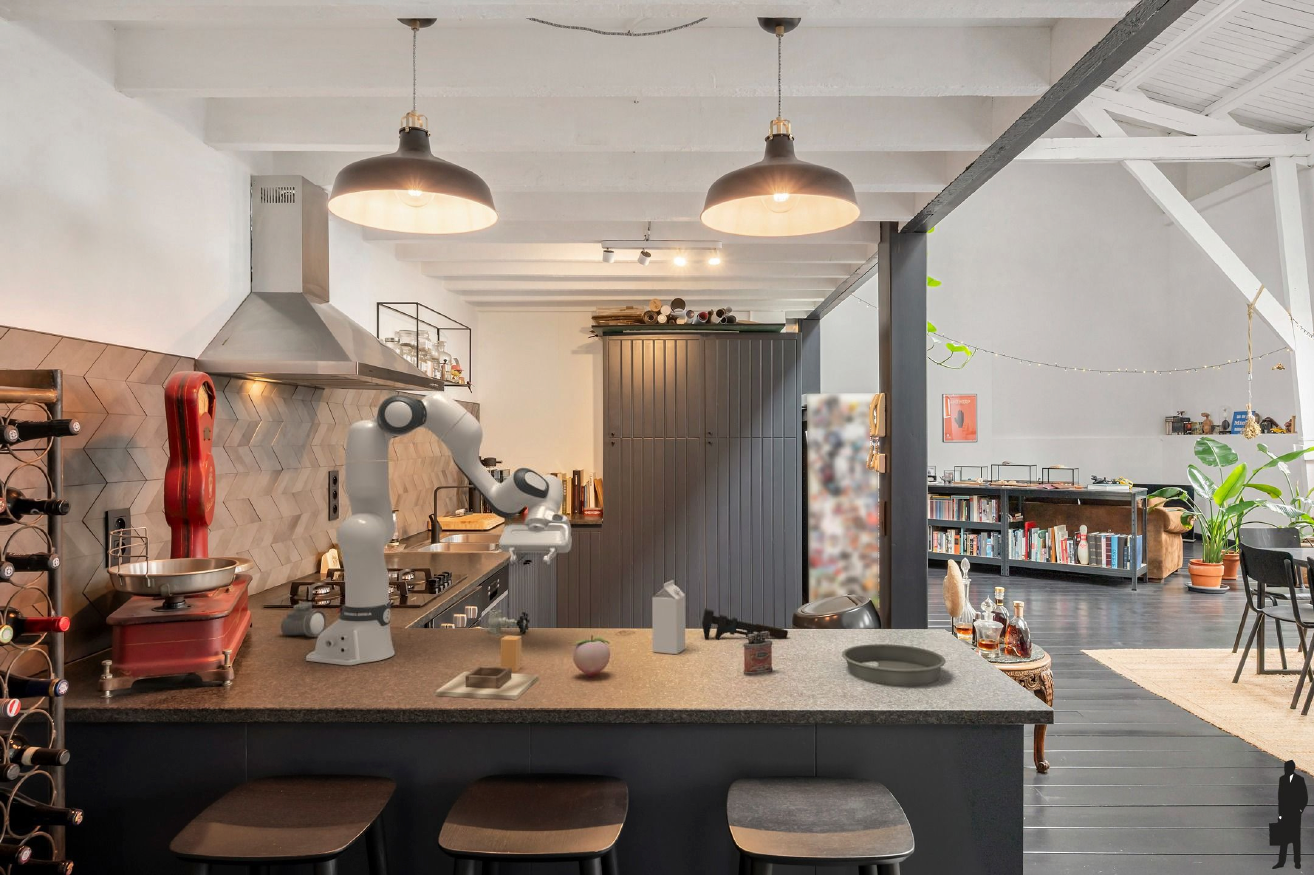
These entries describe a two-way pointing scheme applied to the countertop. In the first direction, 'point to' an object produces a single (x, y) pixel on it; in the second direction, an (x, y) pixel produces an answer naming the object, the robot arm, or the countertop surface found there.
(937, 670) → the cake pan
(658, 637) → the milk carton
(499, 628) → the valve
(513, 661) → the orange cap block
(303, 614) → the pipe fitting
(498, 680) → the socket board
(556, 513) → the robot arm
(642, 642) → the countertop surface
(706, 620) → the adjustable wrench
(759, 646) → the lighter
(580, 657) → the decorative fruit
